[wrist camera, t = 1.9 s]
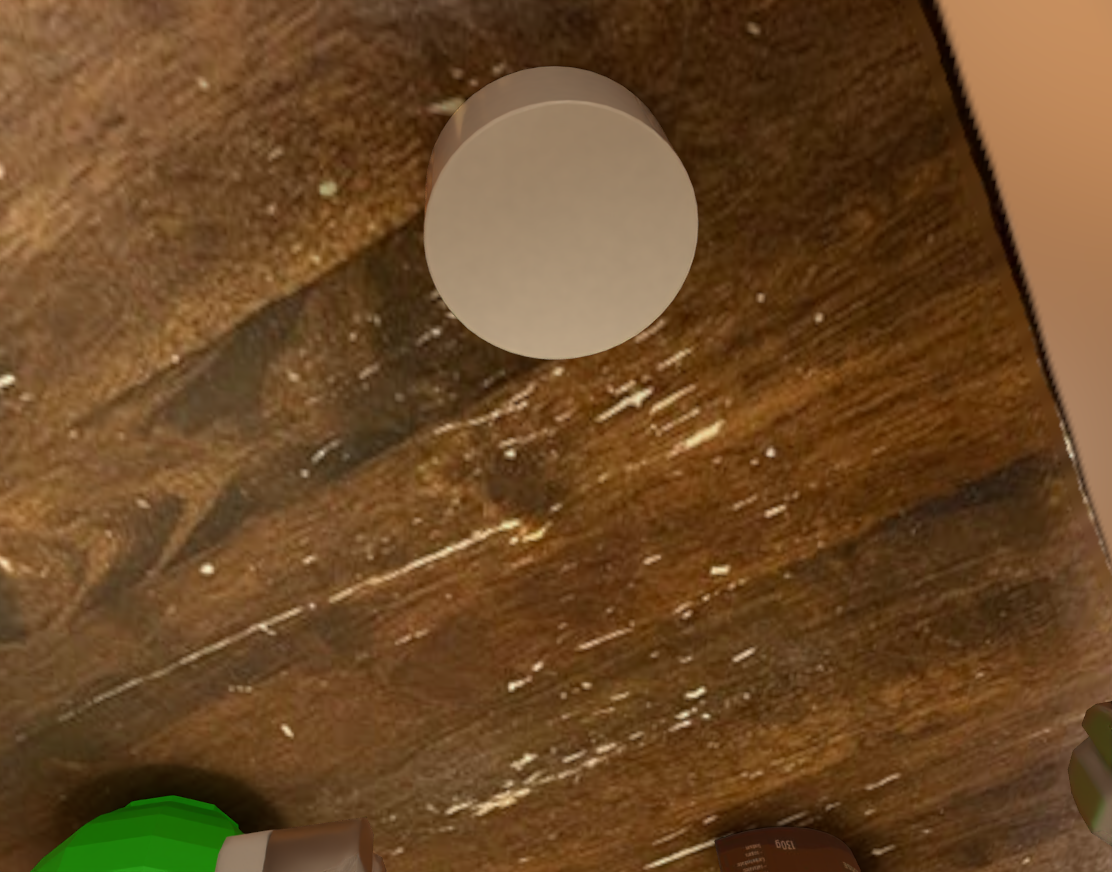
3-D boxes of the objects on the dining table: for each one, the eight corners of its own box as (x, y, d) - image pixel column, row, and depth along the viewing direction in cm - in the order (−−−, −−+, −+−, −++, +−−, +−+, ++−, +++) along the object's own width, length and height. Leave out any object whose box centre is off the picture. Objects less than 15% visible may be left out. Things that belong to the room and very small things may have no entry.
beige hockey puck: (671, 49, 24) (697, 83, 21) (677, 291, 28) (700, 343, 25) (404, 83, 24) (399, 120, 21) (447, 321, 28) (447, 376, 25)
